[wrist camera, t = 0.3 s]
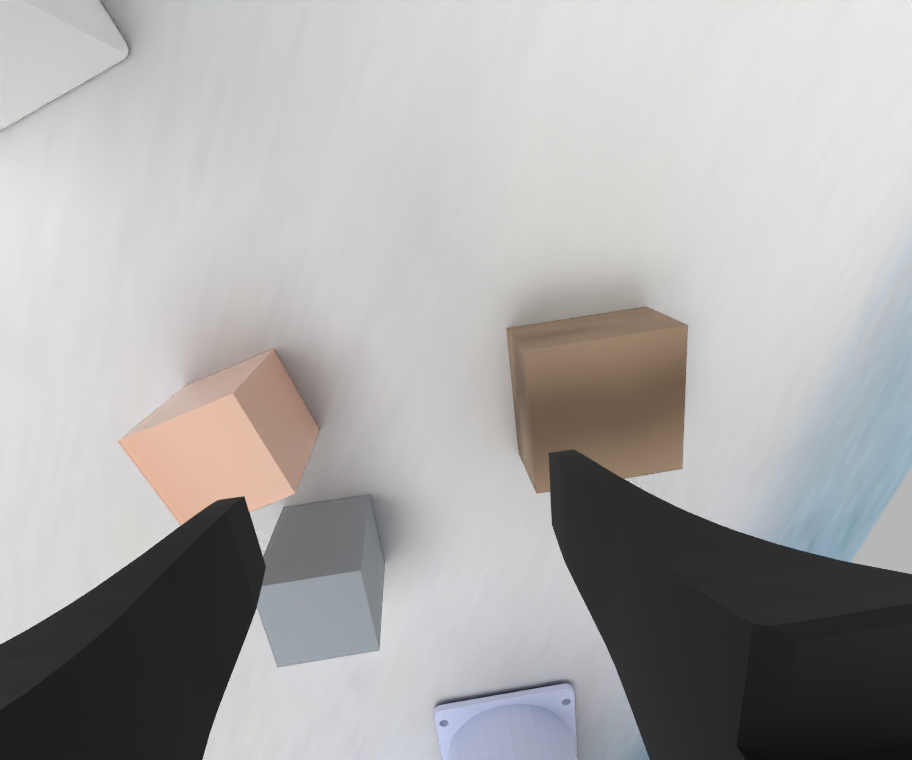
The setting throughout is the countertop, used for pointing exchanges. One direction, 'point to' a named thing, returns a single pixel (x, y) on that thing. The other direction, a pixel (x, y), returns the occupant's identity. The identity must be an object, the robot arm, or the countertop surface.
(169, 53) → the countertop surface
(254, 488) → the terracotta block
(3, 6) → the medicine bottle
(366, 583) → the slate block
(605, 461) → the walnut block
